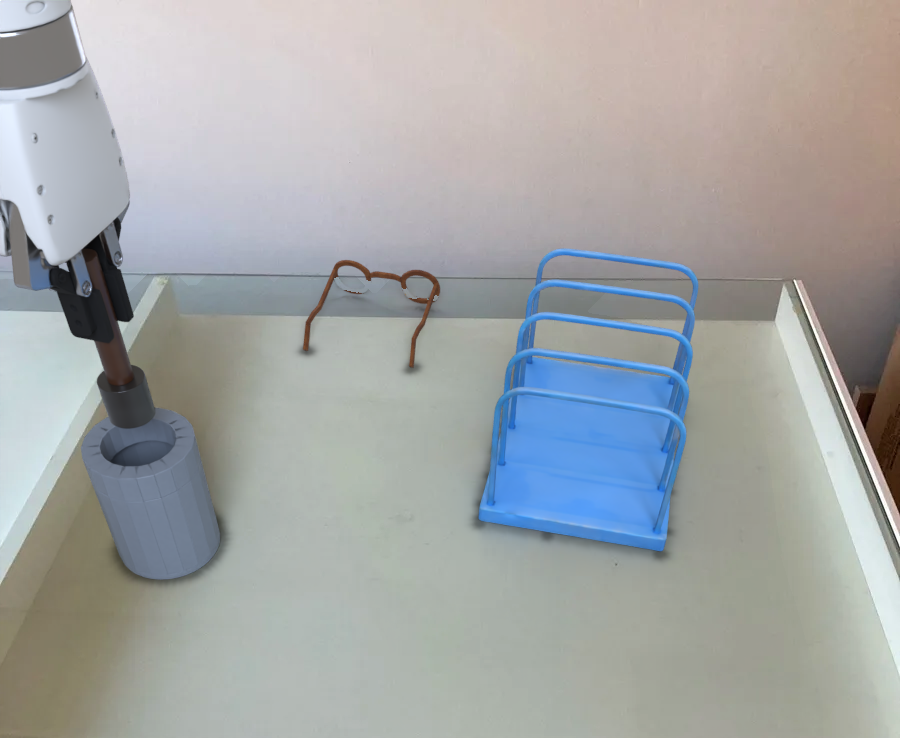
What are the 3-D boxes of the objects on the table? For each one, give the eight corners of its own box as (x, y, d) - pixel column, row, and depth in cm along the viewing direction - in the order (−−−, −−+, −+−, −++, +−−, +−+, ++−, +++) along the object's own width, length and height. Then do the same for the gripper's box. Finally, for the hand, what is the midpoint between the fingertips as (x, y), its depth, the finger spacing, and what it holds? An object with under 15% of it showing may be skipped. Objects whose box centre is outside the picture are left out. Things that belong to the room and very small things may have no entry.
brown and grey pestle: (100, 423, 71) (43, 264, 61) (123, 397, 74) (73, 239, 63) (141, 432, 71) (91, 273, 61) (163, 405, 73) (118, 247, 63)
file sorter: (662, 555, 83) (700, 422, 72) (477, 524, 86) (484, 391, 74) (677, 391, 99) (710, 260, 87) (520, 369, 101) (532, 238, 90)
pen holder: (101, 566, 81) (59, 465, 72) (150, 500, 87) (117, 398, 78) (192, 589, 80) (161, 488, 71) (236, 520, 85) (213, 418, 76)
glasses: (441, 307, 109) (441, 268, 105) (413, 370, 101) (412, 331, 97) (336, 291, 111) (333, 253, 107) (300, 352, 103) (295, 313, 99)
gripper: (36, -3, 58) (114, 265, 72) (-136, 92, 48) (-6, 381, 62) (141, 10, 57) (200, 280, 71) (-13, 110, 47) (91, 402, 61)
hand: (103, 326), depth 66 cm, fingers closed on brown and grey pestle, 2 cm apart
